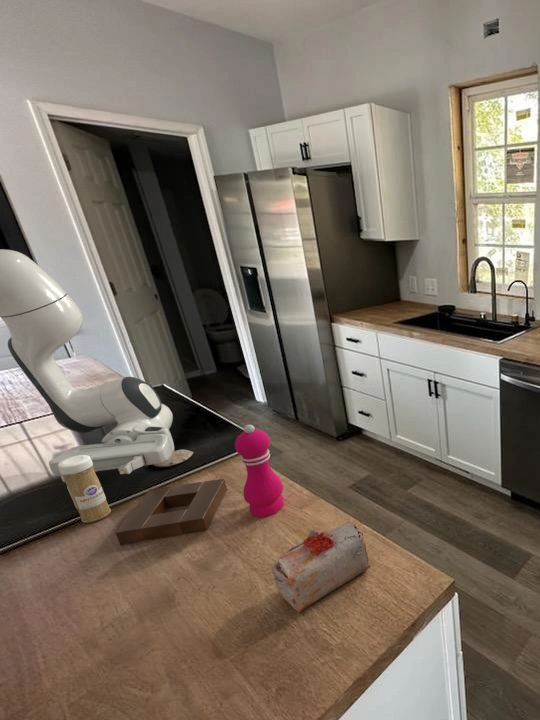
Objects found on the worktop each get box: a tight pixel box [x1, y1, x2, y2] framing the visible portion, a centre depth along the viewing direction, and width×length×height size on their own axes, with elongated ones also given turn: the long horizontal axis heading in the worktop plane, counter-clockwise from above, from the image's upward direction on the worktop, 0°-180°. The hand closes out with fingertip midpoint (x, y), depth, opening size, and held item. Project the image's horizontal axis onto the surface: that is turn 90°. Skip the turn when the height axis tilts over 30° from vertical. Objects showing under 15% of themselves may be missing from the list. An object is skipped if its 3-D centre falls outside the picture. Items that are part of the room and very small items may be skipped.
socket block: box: [115, 478, 228, 546], centre depth 85 cm, size 14×14×3 cm
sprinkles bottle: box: [58, 455, 112, 524], centre depth 82 cm, size 5×5×14 cm
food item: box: [270, 521, 371, 613], centre depth 69 cm, size 14×8×10 cm, turn 138°
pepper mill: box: [234, 424, 285, 518], centre depth 85 cm, size 7×7×20 cm
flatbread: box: [152, 449, 194, 468], centre depth 104 cm, size 8×8×1 cm
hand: (95, 475), depth 85 cm, fingers open, 8 cm apart
